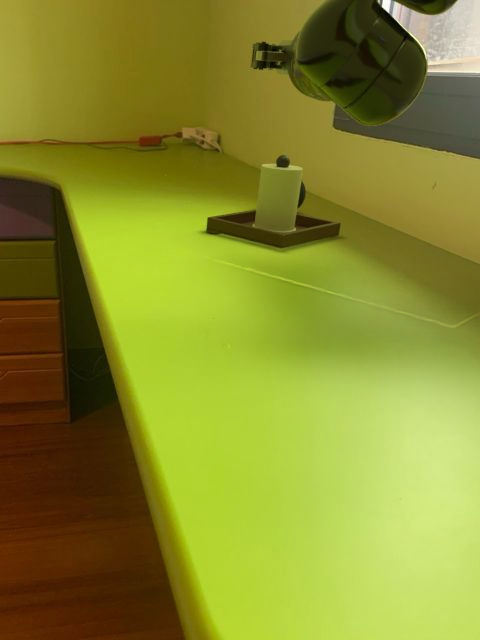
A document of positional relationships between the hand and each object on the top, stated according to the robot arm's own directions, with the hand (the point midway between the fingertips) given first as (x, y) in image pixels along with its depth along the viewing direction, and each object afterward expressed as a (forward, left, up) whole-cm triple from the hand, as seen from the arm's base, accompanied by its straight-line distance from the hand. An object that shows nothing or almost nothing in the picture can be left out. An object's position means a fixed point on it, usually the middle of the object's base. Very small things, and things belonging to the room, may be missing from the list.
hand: (307, 59), depth 84 cm
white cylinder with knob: (-8, -7, -23) cm, 25 cm away
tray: (-8, -7, -24) cm, 26 cm away
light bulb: (-24, -16, -24) cm, 38 cm away
